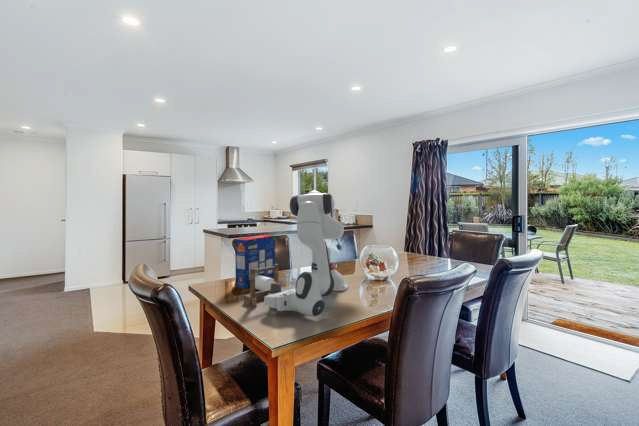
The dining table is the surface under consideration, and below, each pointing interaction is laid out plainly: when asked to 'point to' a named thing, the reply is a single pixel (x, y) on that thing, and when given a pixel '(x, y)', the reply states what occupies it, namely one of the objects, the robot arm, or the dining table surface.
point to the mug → (263, 282)
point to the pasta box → (253, 257)
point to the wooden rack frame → (254, 296)
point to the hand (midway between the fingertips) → (274, 293)
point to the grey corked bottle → (275, 287)
